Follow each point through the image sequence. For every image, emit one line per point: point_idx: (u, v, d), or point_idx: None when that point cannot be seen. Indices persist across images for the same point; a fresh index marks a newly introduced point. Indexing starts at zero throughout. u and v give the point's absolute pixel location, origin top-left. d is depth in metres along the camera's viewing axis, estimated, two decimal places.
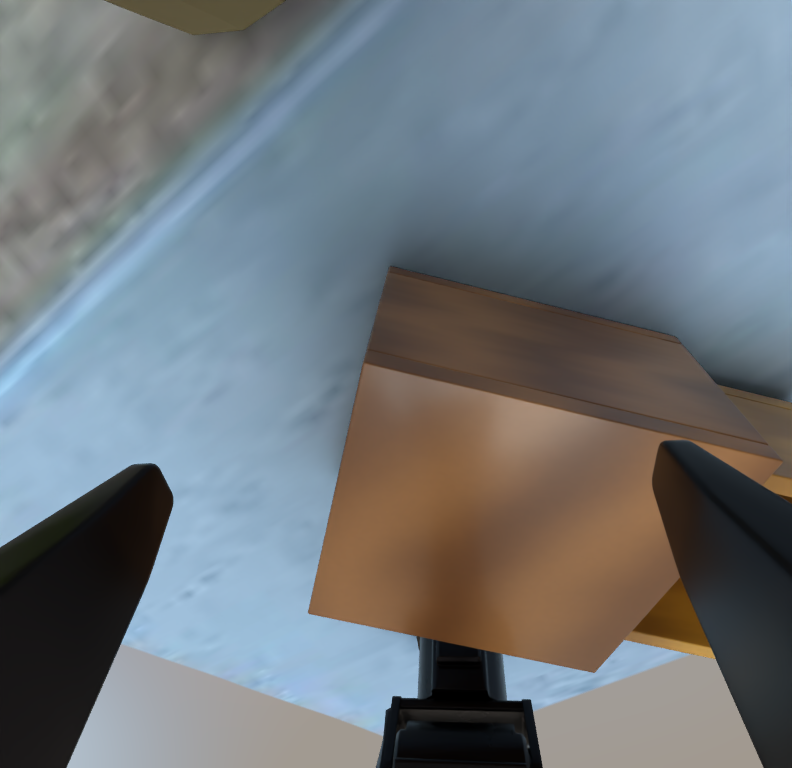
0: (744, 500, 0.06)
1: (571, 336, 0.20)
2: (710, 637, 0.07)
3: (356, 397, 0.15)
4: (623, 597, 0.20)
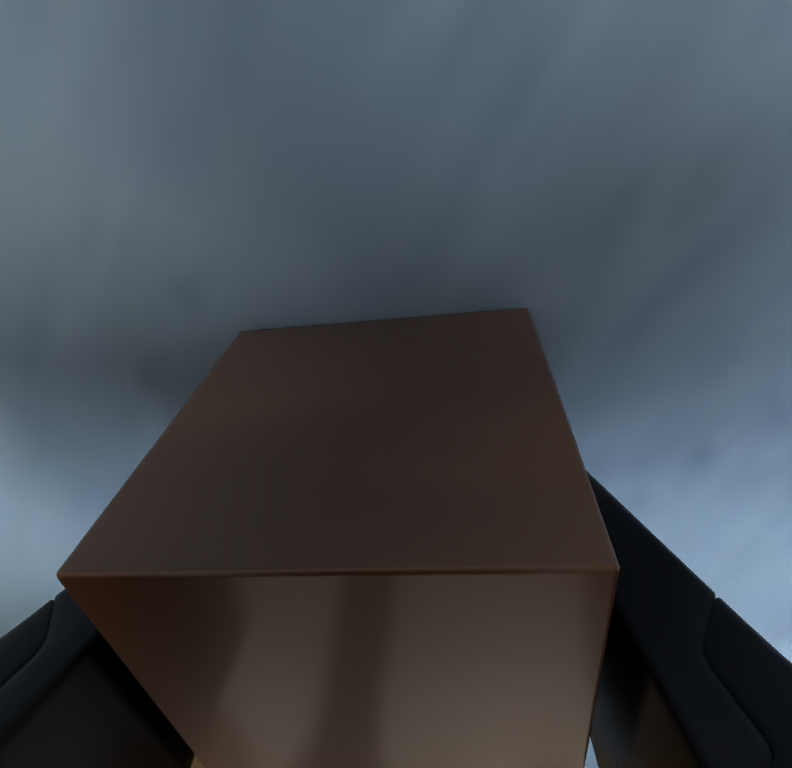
0: None
1: None
2: None
3: None
4: None
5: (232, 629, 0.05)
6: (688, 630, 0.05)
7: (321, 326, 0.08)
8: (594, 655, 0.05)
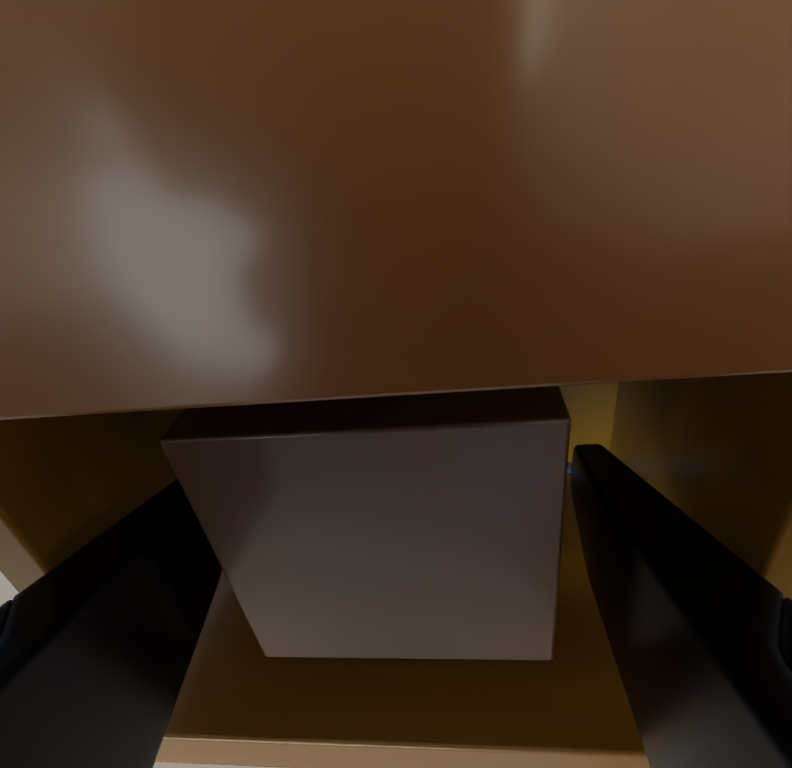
0: (633, 503, 0.06)
1: None
2: (609, 636, 0.07)
3: None
4: (53, 232, 0.03)
5: (288, 485, 0.06)
6: (761, 630, 0.05)
7: None
8: (557, 498, 0.06)
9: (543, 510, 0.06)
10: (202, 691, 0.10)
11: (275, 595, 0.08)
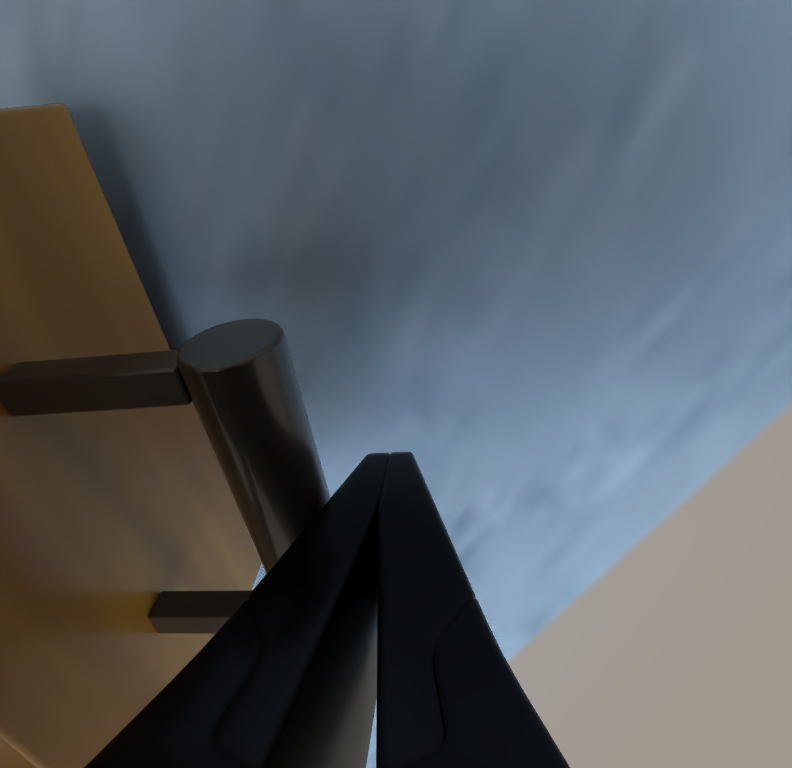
0: (401, 509, 0.07)
1: None
2: None
3: None
4: None
5: None
6: (429, 629, 0.05)
7: None
8: None
9: None
10: None
11: None
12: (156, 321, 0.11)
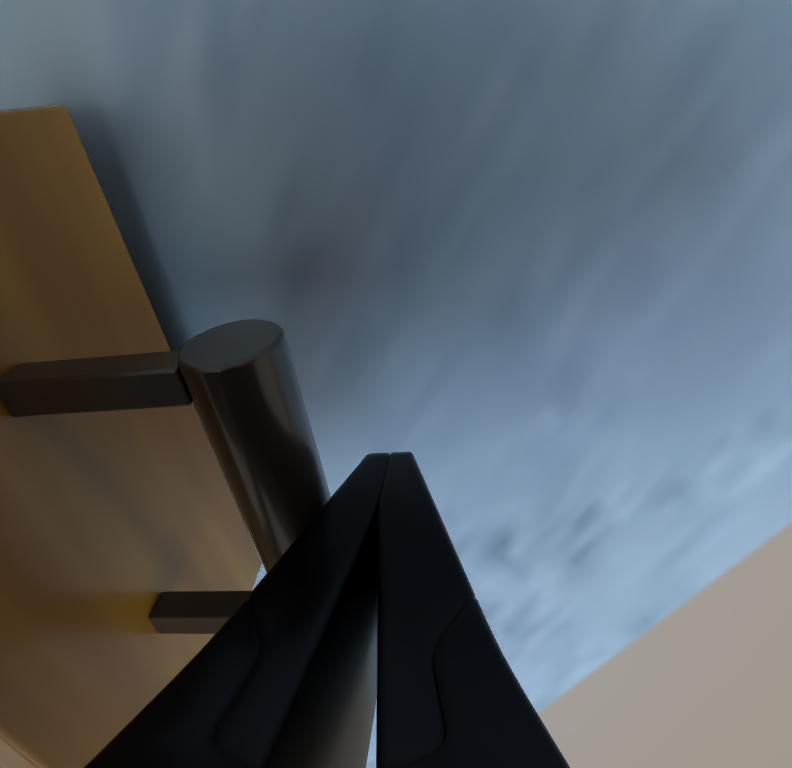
0: (401, 509, 0.07)
1: None
2: None
3: None
4: None
5: None
6: (429, 629, 0.05)
7: None
8: None
9: None
10: None
11: None
12: (156, 322, 0.11)
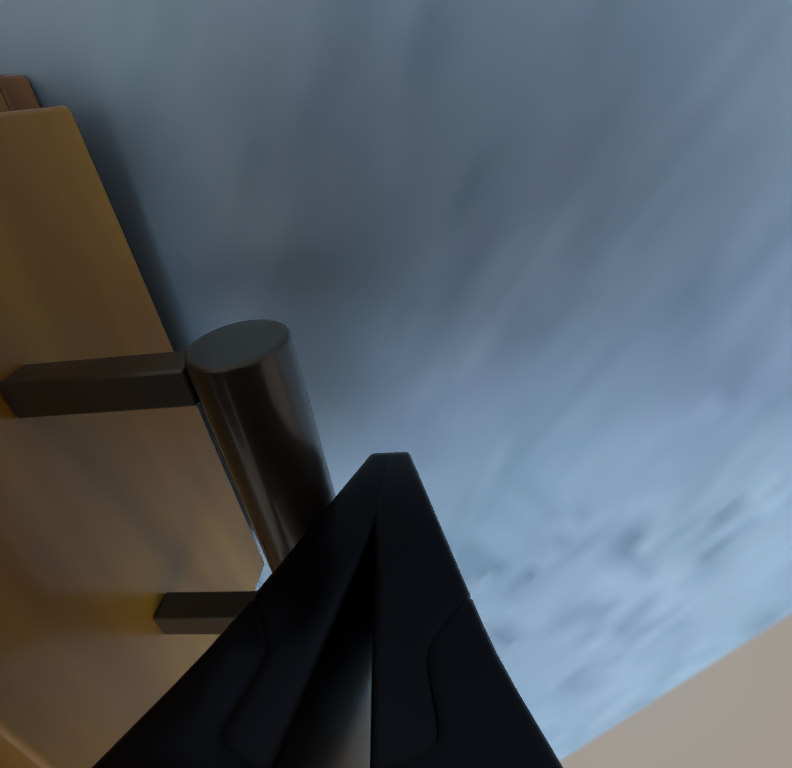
0: (397, 510, 0.07)
1: None
2: None
3: None
4: None
5: None
6: (424, 629, 0.05)
7: None
8: None
9: None
10: None
11: None
12: (159, 323, 0.11)
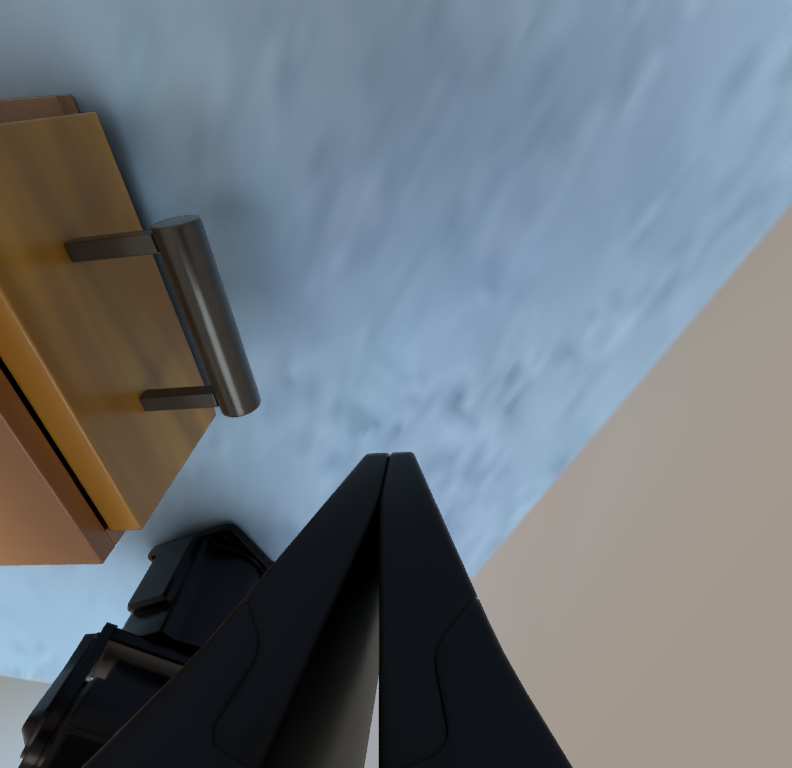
0: (402, 509, 0.07)
1: None
2: None
3: None
4: None
5: None
6: (432, 629, 0.05)
7: None
8: None
9: None
10: None
11: None
12: None
